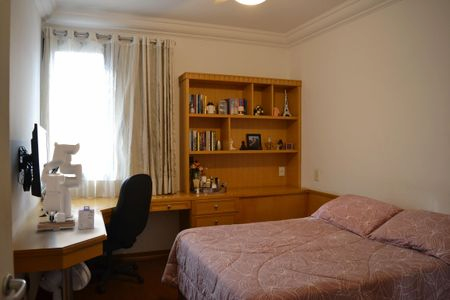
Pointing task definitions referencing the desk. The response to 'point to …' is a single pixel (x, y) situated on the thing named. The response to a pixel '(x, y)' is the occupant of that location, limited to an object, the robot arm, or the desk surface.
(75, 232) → the desk surface
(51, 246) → the desk surface
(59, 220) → the rider
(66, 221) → the beam
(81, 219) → the ink cartridge box
